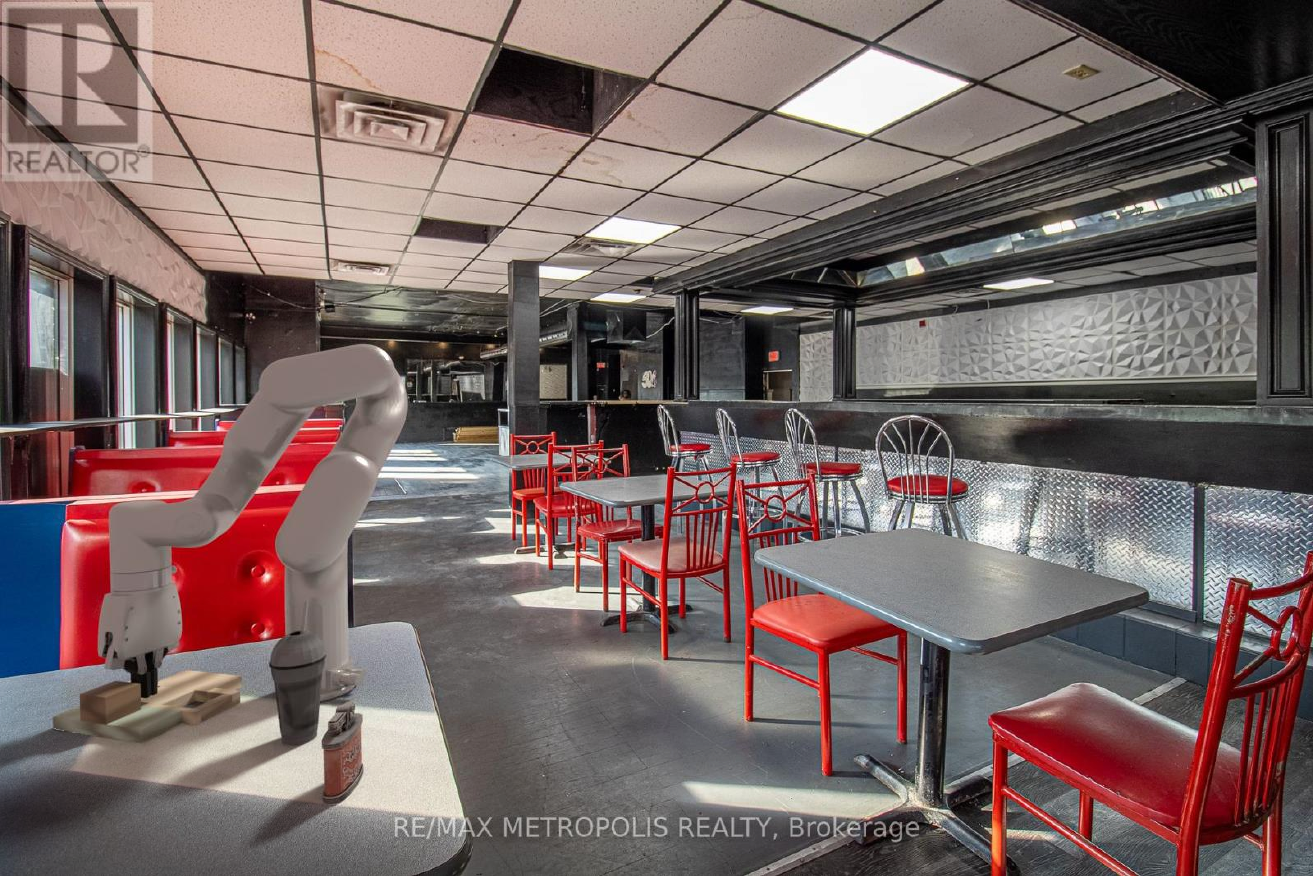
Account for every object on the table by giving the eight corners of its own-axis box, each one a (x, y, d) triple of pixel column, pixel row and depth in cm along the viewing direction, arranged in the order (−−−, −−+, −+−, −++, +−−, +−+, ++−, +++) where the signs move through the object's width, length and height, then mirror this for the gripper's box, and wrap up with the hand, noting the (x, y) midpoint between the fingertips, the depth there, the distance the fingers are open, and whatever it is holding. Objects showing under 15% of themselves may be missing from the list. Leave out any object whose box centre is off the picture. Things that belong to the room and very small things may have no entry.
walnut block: (141, 709, 98) (140, 683, 98) (106, 724, 94) (105, 697, 93) (116, 706, 100) (115, 680, 100) (80, 721, 95) (79, 694, 95)
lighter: (342, 769, 85) (341, 694, 85) (369, 768, 85) (367, 693, 85) (316, 805, 77) (314, 723, 77) (345, 804, 77) (343, 722, 77)
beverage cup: (274, 731, 95) (271, 598, 95) (329, 722, 98) (326, 592, 98) (266, 755, 89) (263, 611, 88) (325, 744, 92) (323, 605, 91)
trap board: (265, 690, 110) (265, 678, 110) (155, 745, 92) (155, 731, 92) (164, 678, 115) (164, 667, 115) (40, 728, 97) (40, 715, 97)
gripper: (169, 567, 109) (172, 675, 109) (70, 590, 94) (73, 714, 95) (205, 570, 107) (207, 679, 107) (109, 594, 92) (112, 719, 93)
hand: (144, 695), depth 101 cm, fingers closed
